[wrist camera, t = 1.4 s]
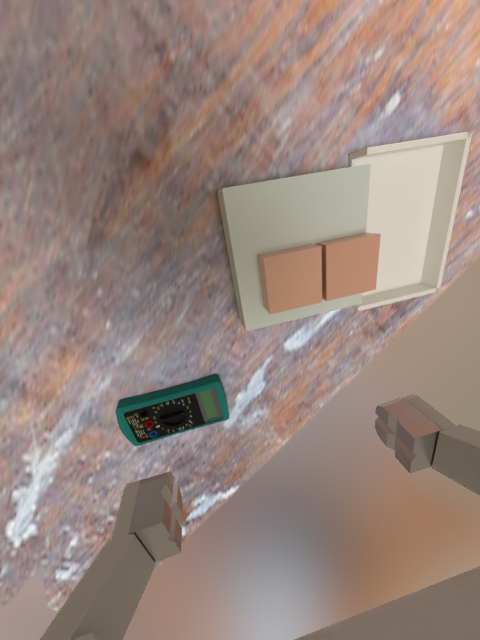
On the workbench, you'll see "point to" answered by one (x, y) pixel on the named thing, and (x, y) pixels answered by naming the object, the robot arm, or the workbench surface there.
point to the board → (289, 230)
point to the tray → (412, 212)
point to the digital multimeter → (172, 410)
